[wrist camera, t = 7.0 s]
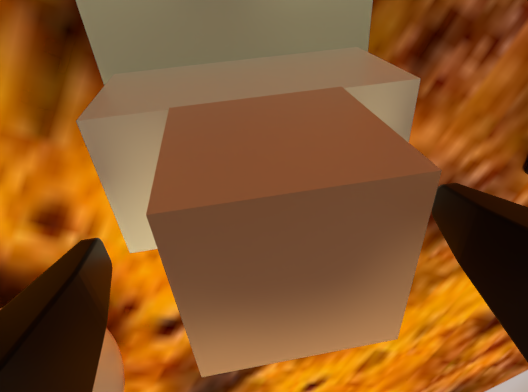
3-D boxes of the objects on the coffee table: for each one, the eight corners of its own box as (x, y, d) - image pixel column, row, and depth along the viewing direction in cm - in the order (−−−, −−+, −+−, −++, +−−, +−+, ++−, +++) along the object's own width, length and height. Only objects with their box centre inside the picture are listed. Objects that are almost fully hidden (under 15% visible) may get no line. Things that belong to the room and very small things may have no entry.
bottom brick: (357, 47, 14) (420, 78, 10) (348, 152, 17) (395, 211, 13) (113, 73, 13) (76, 121, 9) (147, 180, 16) (129, 253, 12)
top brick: (341, 86, 10) (441, 170, 6) (333, 219, 13) (397, 338, 9) (169, 108, 9) (146, 214, 5) (201, 241, 12) (201, 377, 8)
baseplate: (366, -41, 13) (376, -41, 13) (346, 189, 20) (353, 199, 19) (79, -16, 12) (70, -14, 12) (155, 218, 19) (153, 230, 18)
